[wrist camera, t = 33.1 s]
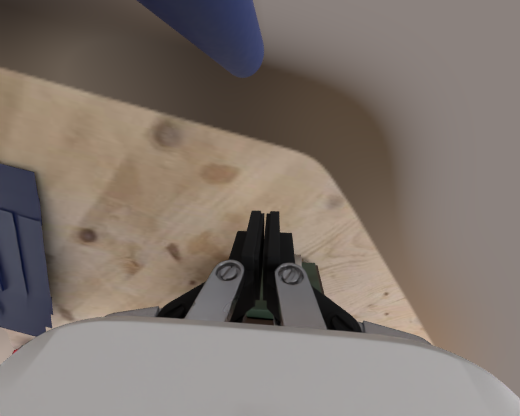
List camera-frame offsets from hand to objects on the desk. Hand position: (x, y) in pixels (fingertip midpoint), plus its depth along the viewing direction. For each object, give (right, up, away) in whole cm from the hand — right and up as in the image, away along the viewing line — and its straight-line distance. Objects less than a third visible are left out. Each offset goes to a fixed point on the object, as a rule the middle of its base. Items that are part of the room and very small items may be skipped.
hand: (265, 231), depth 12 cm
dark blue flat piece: (-42, -3, +17) cm, 45 cm away
